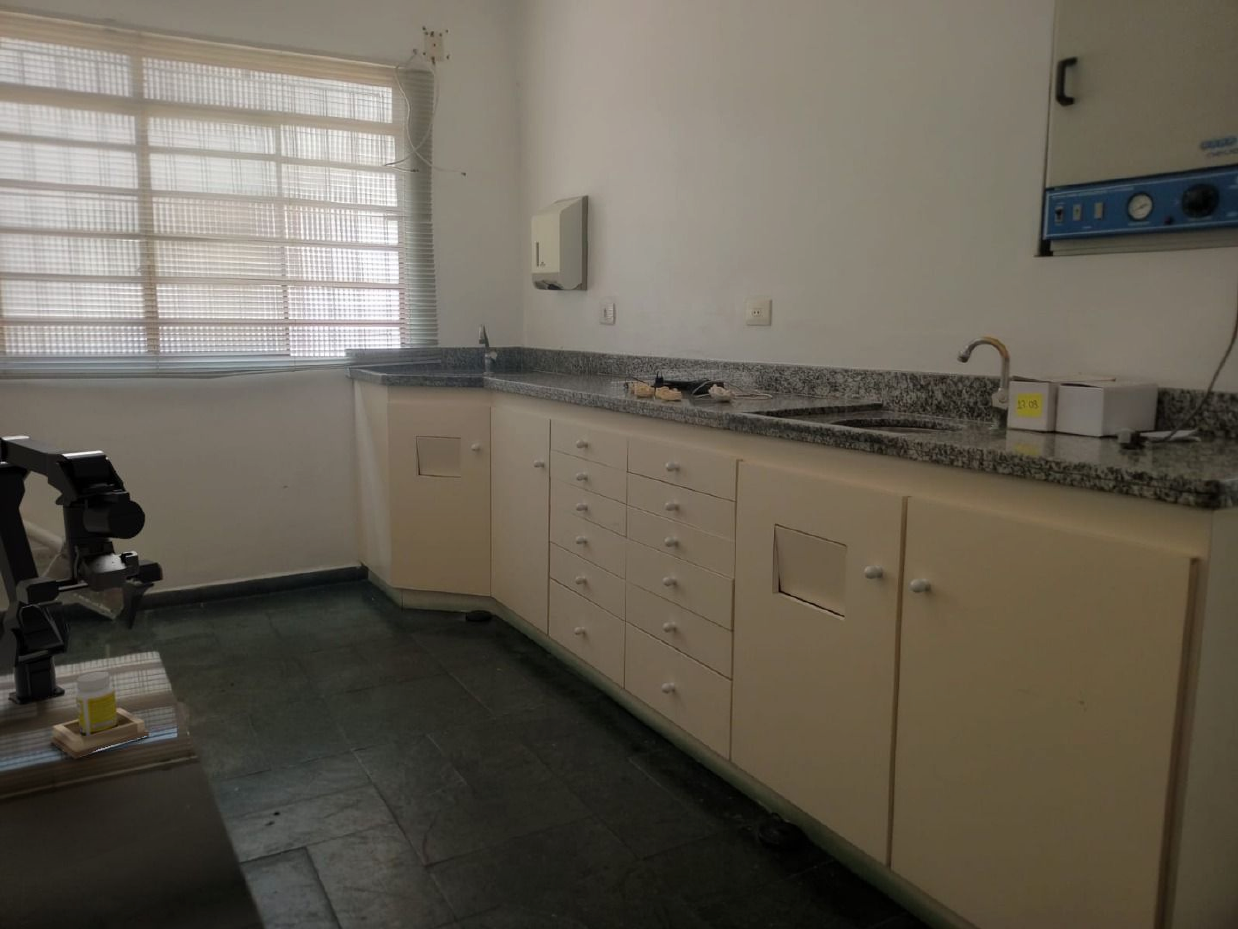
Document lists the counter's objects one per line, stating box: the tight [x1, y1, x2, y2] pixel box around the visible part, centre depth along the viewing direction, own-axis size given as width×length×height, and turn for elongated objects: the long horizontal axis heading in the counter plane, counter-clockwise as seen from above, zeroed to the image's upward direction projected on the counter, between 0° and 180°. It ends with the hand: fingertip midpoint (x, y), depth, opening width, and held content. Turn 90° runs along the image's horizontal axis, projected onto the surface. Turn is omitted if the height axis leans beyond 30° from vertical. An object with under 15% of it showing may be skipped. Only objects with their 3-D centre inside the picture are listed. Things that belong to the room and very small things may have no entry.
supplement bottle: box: [75, 671, 118, 737], centre depth 134 cm, size 5×5×8 cm
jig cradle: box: [50, 707, 150, 759], centre depth 135 cm, size 10×10×2 cm
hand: (97, 636), depth 144 cm, fingers open, 9 cm apart
